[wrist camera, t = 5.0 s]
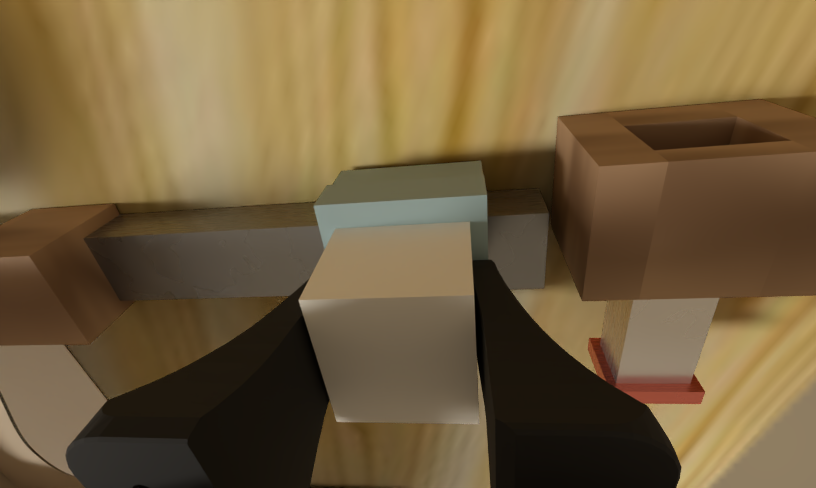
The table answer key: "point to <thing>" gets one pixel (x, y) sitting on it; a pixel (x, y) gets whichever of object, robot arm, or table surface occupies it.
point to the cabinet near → (687, 202)
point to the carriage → (399, 293)
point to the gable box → (42, 414)
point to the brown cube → (54, 278)
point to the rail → (278, 248)
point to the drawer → (653, 348)
